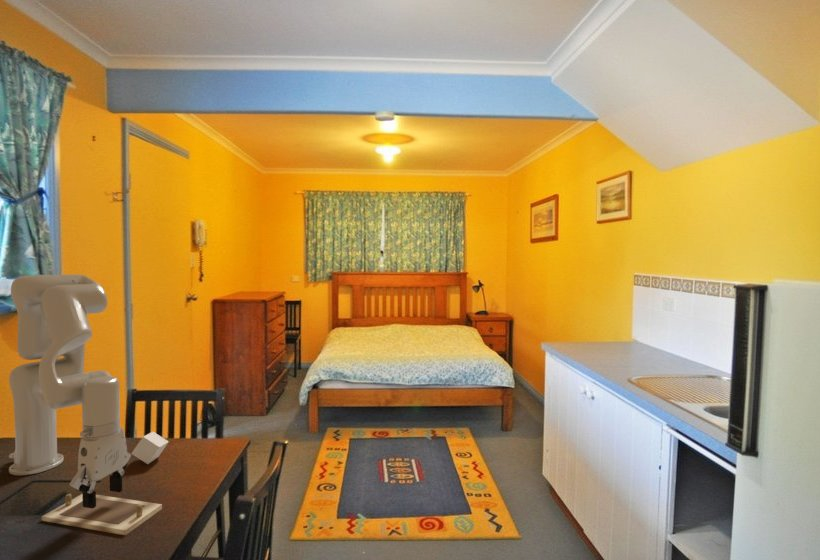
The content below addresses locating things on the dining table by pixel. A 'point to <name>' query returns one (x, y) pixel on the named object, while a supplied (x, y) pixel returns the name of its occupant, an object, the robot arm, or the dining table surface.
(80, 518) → the serving tray
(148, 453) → the white cube
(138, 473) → the dining table surface
